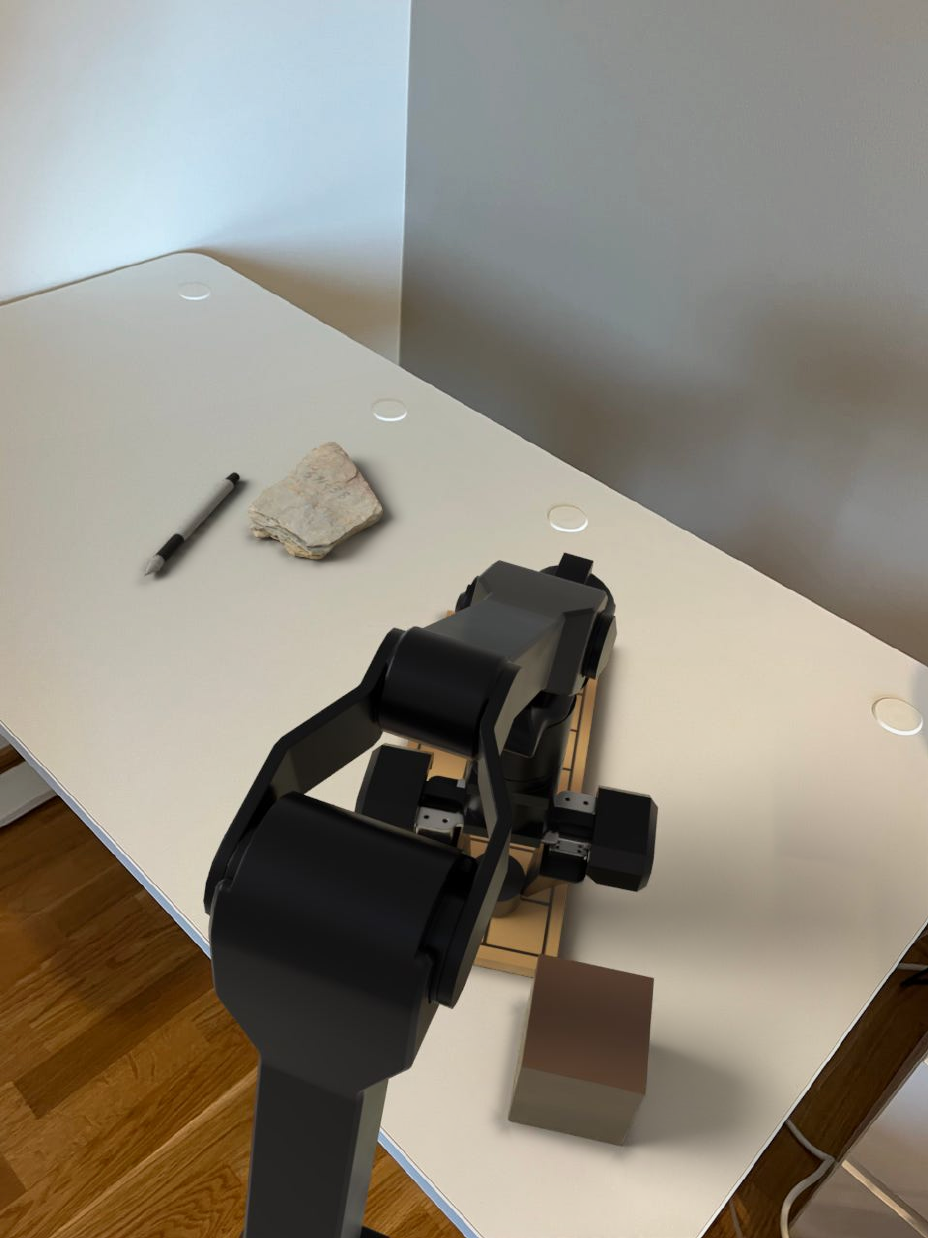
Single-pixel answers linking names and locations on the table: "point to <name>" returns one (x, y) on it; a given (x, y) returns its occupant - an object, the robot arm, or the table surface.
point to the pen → (192, 523)
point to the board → (527, 860)
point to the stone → (316, 504)
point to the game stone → (509, 888)
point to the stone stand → (583, 1050)
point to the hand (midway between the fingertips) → (495, 884)
